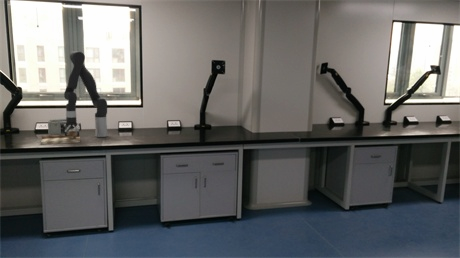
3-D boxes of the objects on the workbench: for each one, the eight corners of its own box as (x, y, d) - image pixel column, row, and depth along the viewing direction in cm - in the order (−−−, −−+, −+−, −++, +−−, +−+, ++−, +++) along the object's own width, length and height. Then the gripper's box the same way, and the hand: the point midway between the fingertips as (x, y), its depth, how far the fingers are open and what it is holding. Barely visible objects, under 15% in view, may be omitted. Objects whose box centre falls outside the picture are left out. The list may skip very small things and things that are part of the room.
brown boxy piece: (75, 137, 301) (75, 129, 300) (76, 139, 291) (75, 132, 290) (69, 137, 299) (68, 130, 298) (69, 139, 289) (68, 132, 288)
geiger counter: (48, 119, 309) (78, 117, 324) (46, 118, 314) (77, 116, 329) (49, 135, 312) (79, 133, 327) (47, 134, 317) (77, 131, 332)
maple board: (79, 138, 304) (79, 134, 303) (80, 142, 291) (79, 137, 291) (42, 140, 293) (41, 135, 292) (41, 144, 280) (40, 139, 280)
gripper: (80, 115, 299) (81, 134, 302) (61, 115, 294) (62, 135, 297) (80, 116, 293) (81, 136, 295) (61, 117, 287) (62, 137, 290)
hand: (72, 136), depth 296 cm, fingers open, 8 cm apart
